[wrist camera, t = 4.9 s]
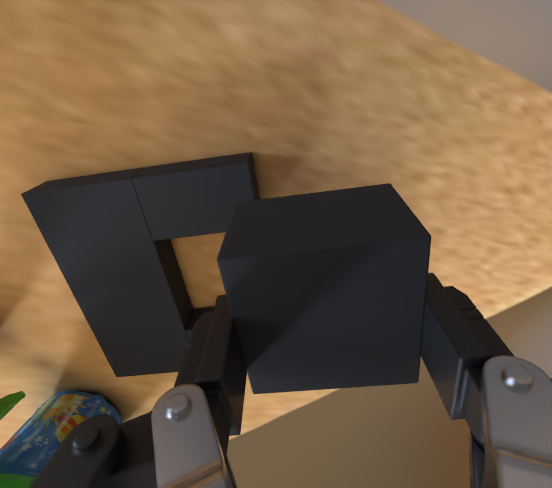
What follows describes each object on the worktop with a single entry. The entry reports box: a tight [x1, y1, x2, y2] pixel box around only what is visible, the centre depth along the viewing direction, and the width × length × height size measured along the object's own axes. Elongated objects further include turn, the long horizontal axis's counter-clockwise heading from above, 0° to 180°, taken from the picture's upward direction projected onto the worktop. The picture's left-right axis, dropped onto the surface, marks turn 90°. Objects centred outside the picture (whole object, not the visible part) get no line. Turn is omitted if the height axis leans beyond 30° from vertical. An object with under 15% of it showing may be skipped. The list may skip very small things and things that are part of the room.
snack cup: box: [0, 390, 122, 488], centre depth 29 cm, size 16×10×10 cm
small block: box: [217, 184, 431, 394], centre depth 12 cm, size 6×6×4 cm
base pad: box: [21, 152, 260, 377], centre depth 25 cm, size 16×14×2 cm
